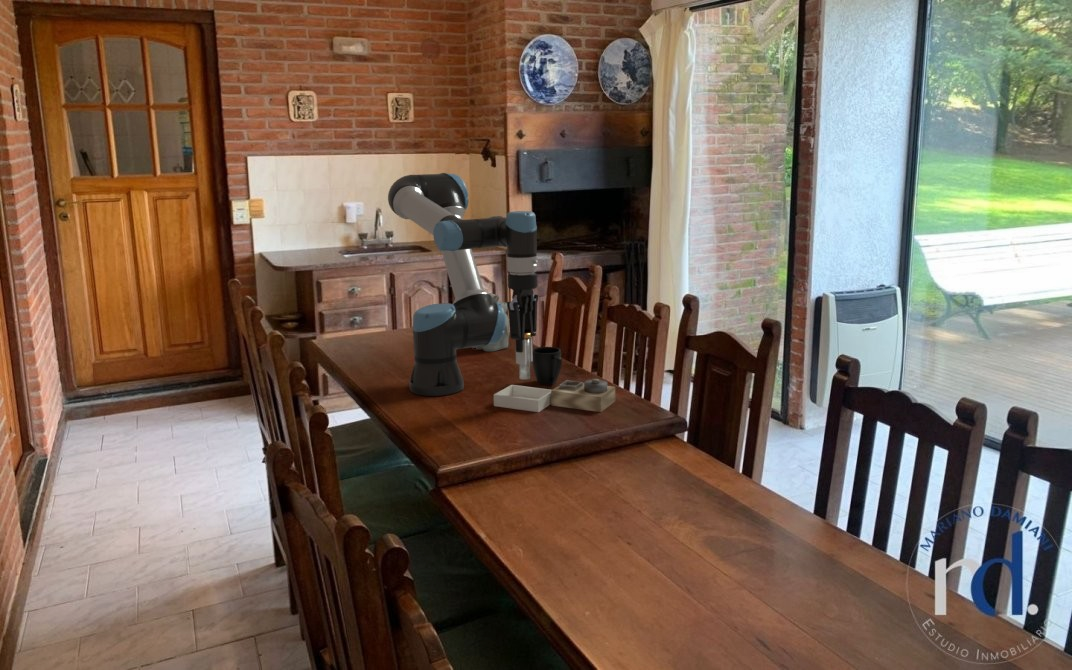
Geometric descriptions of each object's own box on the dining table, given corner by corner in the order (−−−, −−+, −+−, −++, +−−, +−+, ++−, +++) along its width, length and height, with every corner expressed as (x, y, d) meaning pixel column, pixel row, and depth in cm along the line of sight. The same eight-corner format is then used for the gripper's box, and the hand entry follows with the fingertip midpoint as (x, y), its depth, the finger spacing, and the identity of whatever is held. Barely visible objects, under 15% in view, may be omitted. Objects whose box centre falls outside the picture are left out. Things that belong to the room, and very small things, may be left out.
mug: (546, 391, 237) (545, 357, 235) (527, 380, 248) (527, 348, 246) (572, 387, 241) (572, 354, 239) (553, 377, 251) (552, 345, 249)
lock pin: (515, 379, 224) (514, 334, 221) (521, 375, 227) (520, 331, 224) (527, 380, 222) (526, 335, 220) (534, 377, 225) (533, 332, 223)
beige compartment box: (551, 405, 225) (550, 380, 223) (567, 395, 233) (566, 370, 232) (600, 412, 219) (601, 386, 217) (615, 401, 227) (615, 376, 226)
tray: (493, 405, 225) (493, 394, 224) (511, 395, 234) (511, 384, 233) (538, 412, 219) (538, 400, 218) (555, 401, 228) (555, 390, 227)
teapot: (461, 342, 295) (459, 288, 291) (505, 340, 298) (504, 286, 293) (465, 354, 279) (463, 297, 275) (511, 351, 282) (510, 295, 278)
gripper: (521, 278, 210) (523, 371, 215) (549, 269, 224) (550, 356, 229) (494, 276, 213) (497, 368, 218) (523, 267, 227) (525, 354, 232)
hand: (524, 362), depth 224 cm, fingers closed on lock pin, 3 cm apart
